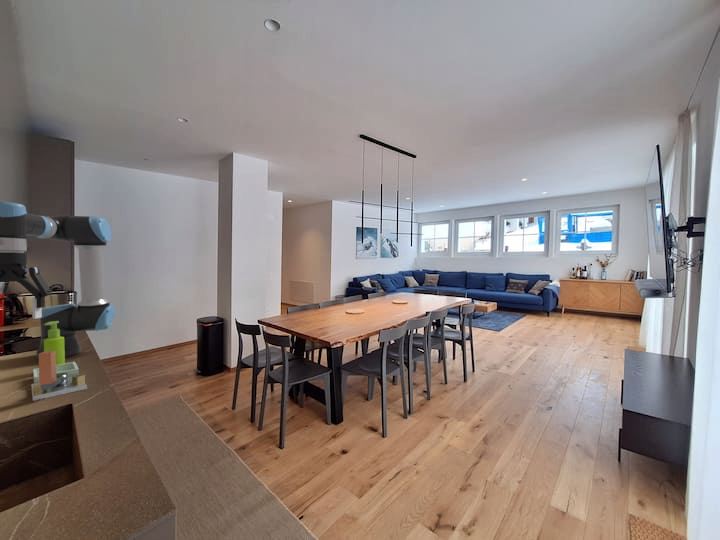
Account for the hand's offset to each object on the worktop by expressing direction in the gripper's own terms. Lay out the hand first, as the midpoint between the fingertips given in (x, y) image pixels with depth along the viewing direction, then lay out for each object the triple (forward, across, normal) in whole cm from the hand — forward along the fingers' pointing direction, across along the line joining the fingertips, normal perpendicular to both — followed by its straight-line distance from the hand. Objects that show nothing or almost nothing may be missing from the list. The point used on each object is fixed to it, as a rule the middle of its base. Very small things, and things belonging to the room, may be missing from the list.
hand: (10, 319), depth 98 cm
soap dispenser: (+26, -5, +28) cm, 38 cm away
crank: (+24, +9, +4) cm, 26 cm away
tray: (+26, +1, +18) cm, 32 cm away
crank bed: (+26, +8, +7) cm, 28 cm away
